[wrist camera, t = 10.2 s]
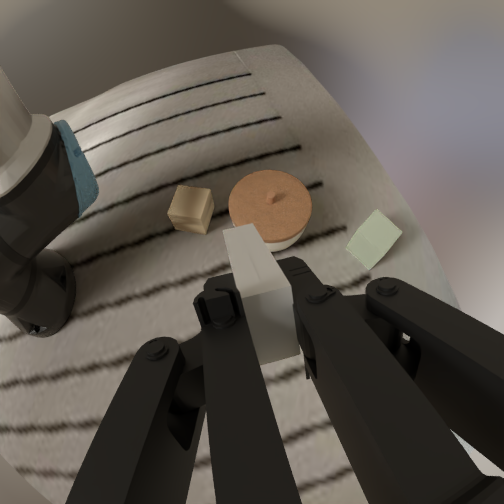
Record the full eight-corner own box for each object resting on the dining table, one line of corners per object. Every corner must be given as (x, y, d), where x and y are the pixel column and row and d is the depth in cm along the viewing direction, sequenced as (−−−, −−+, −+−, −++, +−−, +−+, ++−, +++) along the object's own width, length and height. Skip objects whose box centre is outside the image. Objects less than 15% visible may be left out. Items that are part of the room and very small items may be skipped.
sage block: (345, 248, 43) (356, 230, 37) (363, 228, 44) (376, 208, 39) (369, 270, 42) (384, 255, 36) (386, 249, 43) (402, 232, 37)
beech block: (175, 229, 45) (167, 213, 40) (185, 202, 47) (178, 184, 42) (206, 235, 44) (200, 218, 40) (214, 207, 46) (210, 189, 41)
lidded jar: (260, 188, 47) (260, 149, 39) (317, 222, 45) (329, 187, 36) (218, 236, 44) (209, 203, 35) (278, 277, 41) (283, 251, 33)
